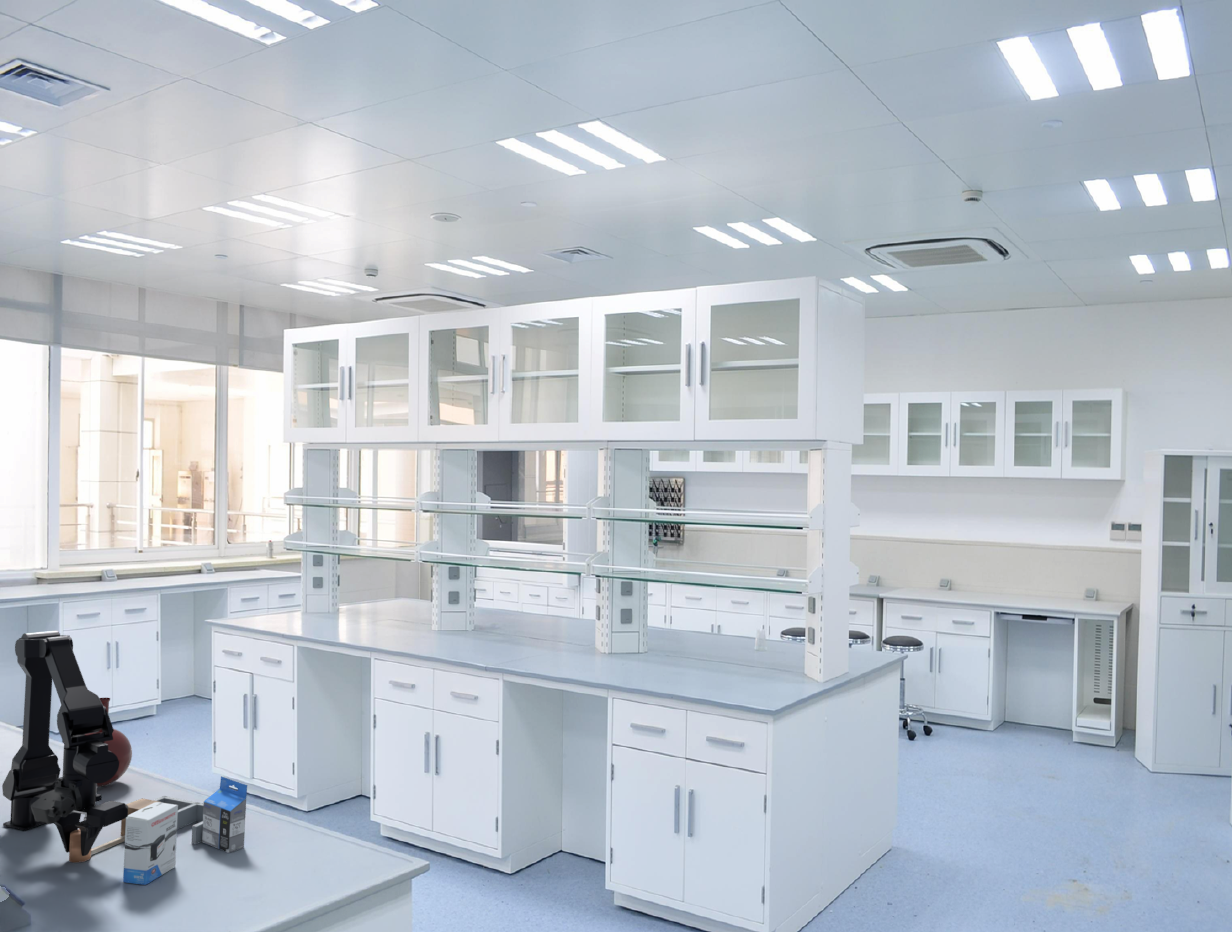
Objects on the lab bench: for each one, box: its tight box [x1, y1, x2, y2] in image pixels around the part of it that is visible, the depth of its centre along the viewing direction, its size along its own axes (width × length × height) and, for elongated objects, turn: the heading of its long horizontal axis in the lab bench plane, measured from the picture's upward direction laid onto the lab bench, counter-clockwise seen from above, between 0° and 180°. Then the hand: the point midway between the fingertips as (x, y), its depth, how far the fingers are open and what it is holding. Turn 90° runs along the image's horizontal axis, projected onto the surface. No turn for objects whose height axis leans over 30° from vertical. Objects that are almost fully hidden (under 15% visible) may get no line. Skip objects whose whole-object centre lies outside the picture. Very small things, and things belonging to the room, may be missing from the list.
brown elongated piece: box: [68, 798, 158, 864], centre depth 184 cm, size 5×18×6 cm, turn 159°
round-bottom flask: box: [85, 697, 133, 788], centre depth 217 cm, size 13×13×20 cm
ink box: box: [122, 802, 178, 886], centre depth 171 cm, size 8×5×12 cm, turn 168°
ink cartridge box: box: [202, 776, 248, 854], centre depth 186 cm, size 9×4×12 cm, turn 57°
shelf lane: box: [152, 795, 204, 845], centre depth 194 cm, size 19×10×4 cm, turn 70°
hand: (76, 853), depth 176 cm, fingers closed on brown elongated piece, 4 cm apart
